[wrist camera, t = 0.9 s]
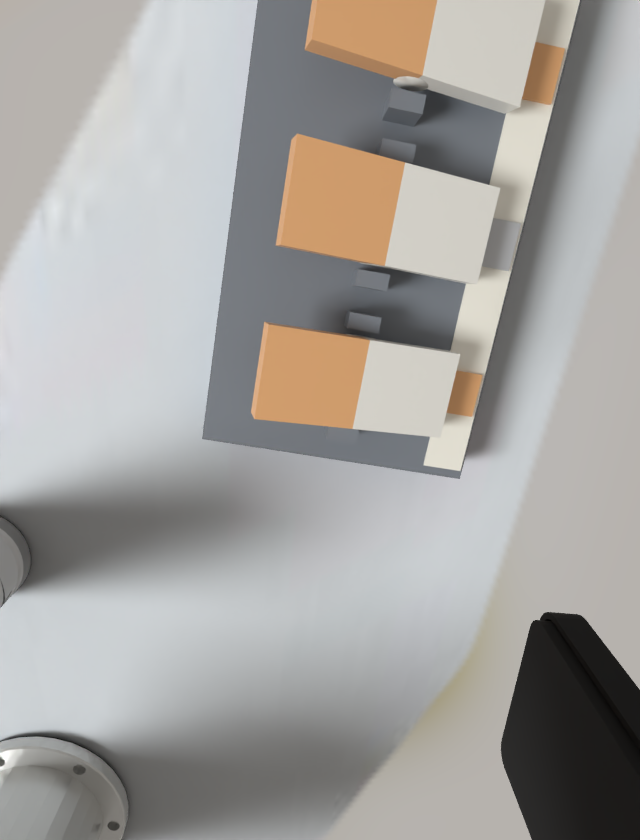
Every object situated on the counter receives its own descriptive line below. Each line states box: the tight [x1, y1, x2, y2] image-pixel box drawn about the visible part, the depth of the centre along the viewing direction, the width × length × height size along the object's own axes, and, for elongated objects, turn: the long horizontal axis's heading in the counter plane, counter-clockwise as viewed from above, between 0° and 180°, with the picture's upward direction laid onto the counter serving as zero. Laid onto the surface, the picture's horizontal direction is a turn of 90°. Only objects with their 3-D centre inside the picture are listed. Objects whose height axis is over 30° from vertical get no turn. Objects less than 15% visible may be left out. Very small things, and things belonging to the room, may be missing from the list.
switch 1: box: [305, 0, 545, 114], centre depth 23 cm, size 4×10×2 cm, turn 80°
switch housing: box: [202, 0, 581, 479], centre depth 28 cm, size 26×15×5 cm, turn 170°
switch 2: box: [276, 134, 500, 284], centre depth 25 cm, size 4×10×2 cm, turn 80°
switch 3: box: [251, 322, 460, 438], centre depth 27 cm, size 4×10×2 cm, turn 80°
